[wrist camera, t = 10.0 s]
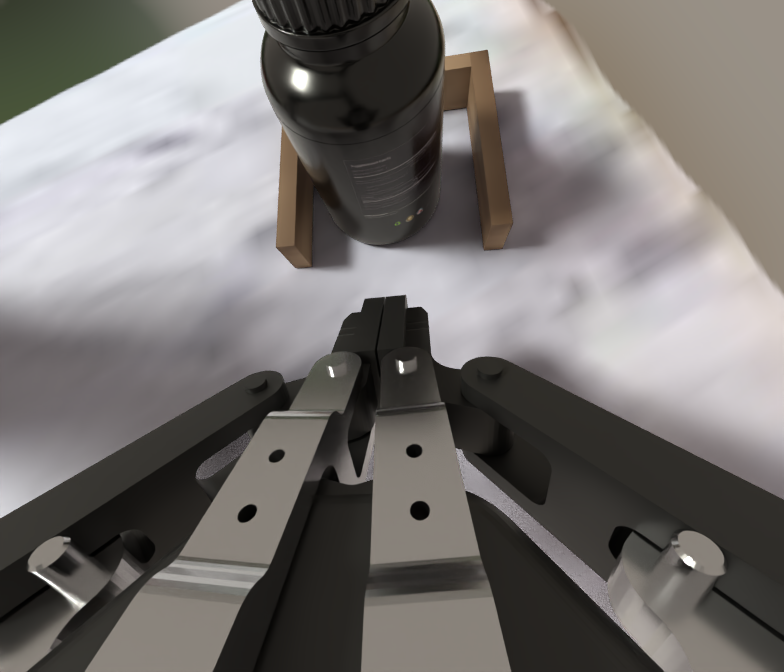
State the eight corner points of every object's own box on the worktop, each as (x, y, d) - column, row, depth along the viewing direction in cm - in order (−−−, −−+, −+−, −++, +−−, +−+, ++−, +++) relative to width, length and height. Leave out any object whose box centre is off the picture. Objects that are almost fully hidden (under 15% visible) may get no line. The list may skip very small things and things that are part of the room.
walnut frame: (295, 268, 19) (276, 247, 17) (300, 119, 22) (284, 82, 19) (502, 248, 18) (512, 223, 16) (481, 92, 21) (487, 49, 18)
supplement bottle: (311, 187, 20) (152, -105, 9) (403, 133, 21) (364, -229, 9) (363, 271, 19) (248, 44, 7) (463, 211, 19) (512, -112, 7)
